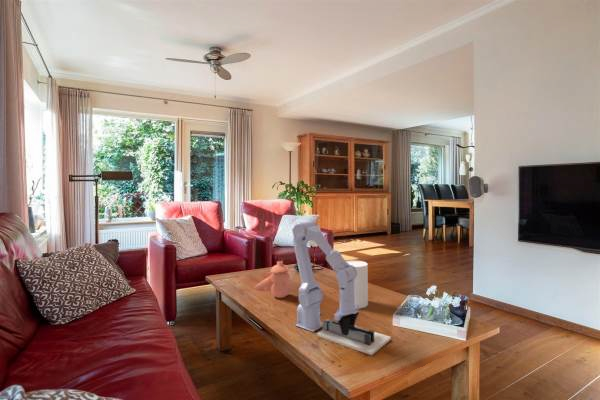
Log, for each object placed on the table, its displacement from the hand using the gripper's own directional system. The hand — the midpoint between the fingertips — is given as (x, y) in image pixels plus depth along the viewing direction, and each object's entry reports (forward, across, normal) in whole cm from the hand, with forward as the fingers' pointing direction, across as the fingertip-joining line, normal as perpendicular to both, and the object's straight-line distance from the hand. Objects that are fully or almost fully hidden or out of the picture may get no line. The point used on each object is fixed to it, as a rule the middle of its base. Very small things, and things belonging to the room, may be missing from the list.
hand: (347, 332), depth 128 cm
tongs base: (+1, 0, 0) cm, 1 cm away
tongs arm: (+1, +1, -1) cm, 2 cm away
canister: (+2, +34, +18) cm, 38 cm away
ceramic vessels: (+2, +26, +65) cm, 70 cm away
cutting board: (+2, +2, -1) cm, 3 cm away
